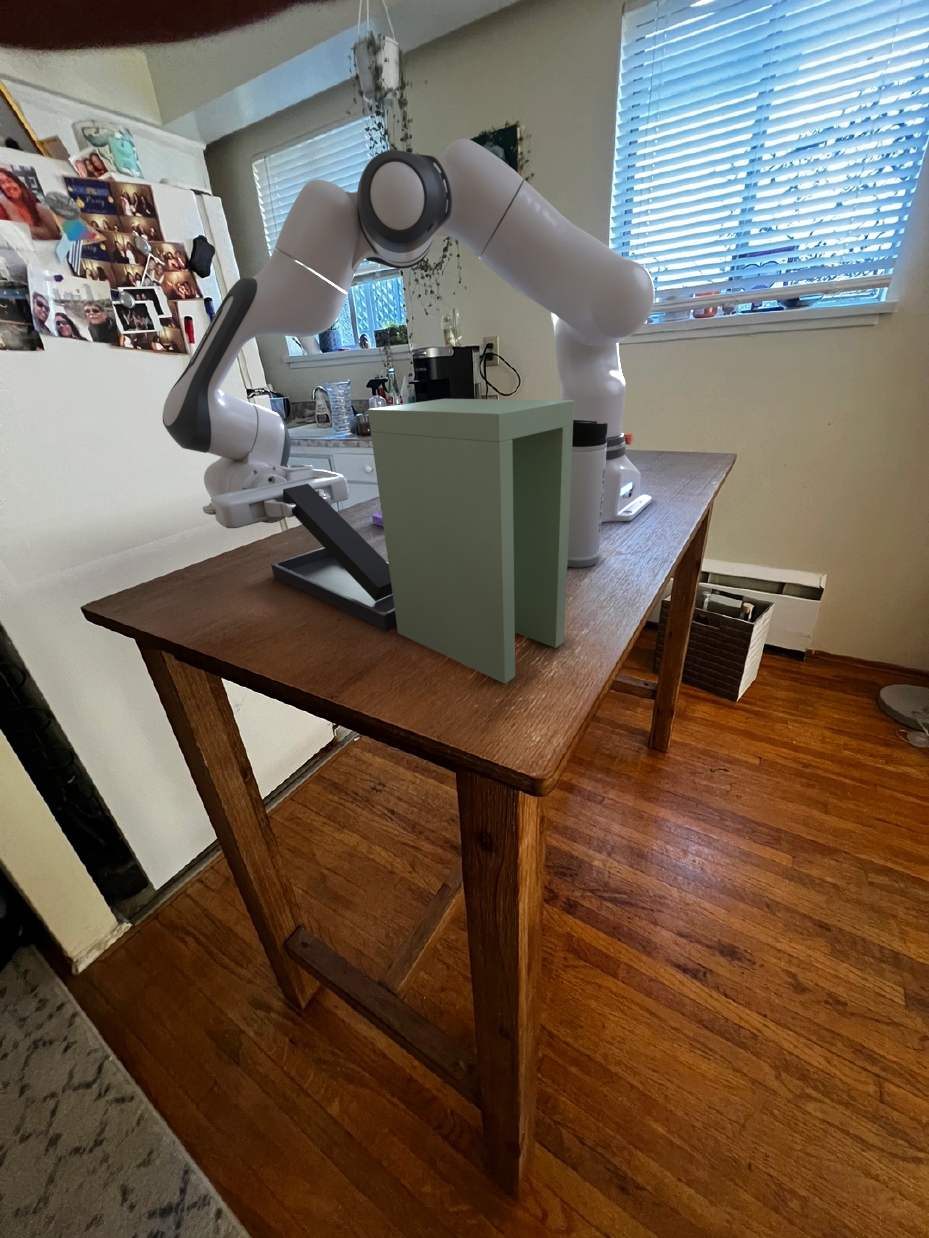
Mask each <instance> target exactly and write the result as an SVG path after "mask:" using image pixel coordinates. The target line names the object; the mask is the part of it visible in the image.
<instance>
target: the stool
mask: <svg viewBox="0 0 929 1238" xmlns="http://www.w3.org/2000/svg"><path fill="white" fill-rule="evenodd" d="M573 413H574V400H559V399H505V398H503V399H502V398H501V399H500V398H499V399H495V398H494V399H493V398H492V399H491V398H490V399H489V398H440V399H432V400H426V401H418V402H411V403H404V404H396V405H389V406H388V405H387V406H381V407H373V408H368V409H367V414H368V422H369V429H370V438H371V445H372V452H373V459H374V467H375V474H376V482H377V488H378V489H377V490H378V496H379V504H380V511H381V512H382V519H383V526H384V527H383V526H382V527H383V532H384V533H383V534H384V541H385V548H386V556H387V562H388V563H389V570H390V578H391V585H392V593H393V600H394V607H395V615H396V622H397V626H396V629H397V634H399V635H401V636H403V637H405V638H407V639H409V640H412V641H414V642H416V643H417V644H420V645H422V646H424V647H426V648H428V649H430V650H433V651H435V652H437V653H439V654H440V655H443V656H445V657H447V658H449V659H450V660H453V661H455V662H457V663H460V664H462V665H464V666H466V667H469V668H470V669H472V670H474V671H477V672H479V673H480V674H483V675H485V676H487V677H489V678H492V679H494V680H495V681H498V682H500V683H502V684H504V685H505V684H507V683H508V682H510V681H512V680H513V679H514V678H516V646H515V645H516V641H515V640H516V639H515V637H516V636H515V635H516V634H518V635H521V636H523V637H526V638H528V639H531V640H533V641H536V642H538V643H541V644H543V645H545V646H549V647H552V648H555V649H556V648H558V647H559V646H561V645H562V644H564V643H565V629H566V626H565V625H566V606H567V605H566V604H567V601H566V600H567V581H568V580H567V578H568V567H567V558H568V534H569V510H570V486H571V462H572V438H573Z"/></svg>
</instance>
